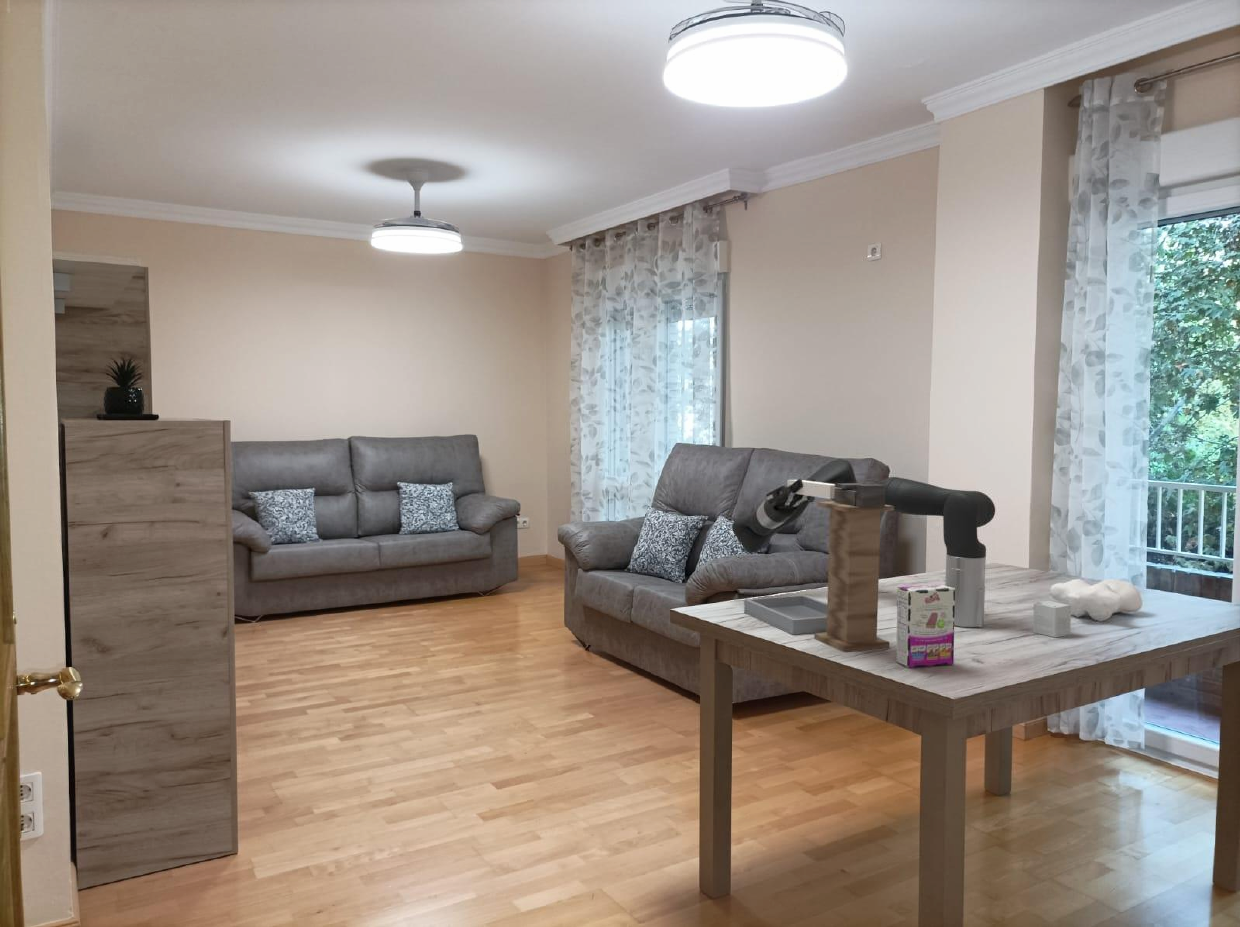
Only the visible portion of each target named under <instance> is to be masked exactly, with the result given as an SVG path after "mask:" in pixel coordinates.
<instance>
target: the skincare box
mask: <svg viewBox="0 0 1240 927" xmlns="http://www.w3.org/2000/svg"><path fill="white" fill-rule="evenodd" d="M1071 621H1072V612H1071V605H1067V604H1062V603H1060V602H1059V601H1058V602H1056V601H1053V600H1044V601H1039V602H1034V603H1033V624H1032V625H1033V630H1032V631H1033V633H1035V634H1039V635H1044V636H1048V637H1051V638H1061V637H1066V636H1070V635H1071V626H1072V625H1071V623H1072V622H1071Z"/></svg>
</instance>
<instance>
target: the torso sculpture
mask: <svg viewBox="0 0 1240 927" xmlns="http://www.w3.org/2000/svg"><path fill="white" fill-rule="evenodd" d="M1049 594H1050V596H1051V598H1052V599H1054V600H1056V601H1058V603H1062V604H1067V605H1071V614H1072V615H1073V616H1074V617H1076V618H1081V617H1083V616H1084V615H1087V614H1088V615H1089V616H1090V617H1091V618H1092V619H1093V620H1094V621H1096V620H1104V621H1106V620H1108V619H1109V618H1111V617H1112V615H1113V614H1116V613H1123V612H1124V613H1134V612H1137V611H1140V610H1141V609H1142V607H1143V599H1142V595H1141V593H1140V591H1139V590H1138V589H1137V587H1136V586H1135V585H1133V584H1132V583H1131V582H1128V581H1123V580H1119V579H1117V580H1116V579H1112V578H1111V579H1110V578H1107V579H1104V580H1101V581H1100V582H1098V583H1094V584H1092V585H1091V584H1089V583H1087V582H1086V581H1084V580H1082V579H1079V578H1076V579H1072V580H1069V581H1067V582H1056V583H1055V584H1052V585H1051V586H1050V590H1049Z"/></svg>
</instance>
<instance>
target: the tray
mask: <svg viewBox="0 0 1240 927" xmlns="http://www.w3.org/2000/svg"><path fill="white" fill-rule="evenodd" d="M743 603H744V604H743V605H744V606H743V608H744V609H743V613H744V614H747V615H749V616H751V617H753V618H756V619H758V620H760V621H762V622H763V623H767V624H769V625H771V626H773V627H775V628H777V629H779V630H782V631H784V632H786V633H788V634H790V635H793V636H797V635H805V634H806V635H807V634H814V633H824V632H827V602H824V601H822V600H818V599H815V598H814V597H811V596H807V595H805V594H799V595H798V594H797V595H784V596H771V597H770V596H769V597H758V598H757V597H756V598H745V599H744V602H743Z"/></svg>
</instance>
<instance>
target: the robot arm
mask: <svg viewBox="0 0 1240 927" xmlns="http://www.w3.org/2000/svg"><path fill="white" fill-rule="evenodd" d="M796 480H797V481H796V482H794V483H793V484H792V485H788V484H787V486H786V485H782V486H780V487H777V488H776V489H774V490H772V491H769V492H768V493H766V494H765V495H766V496H765V497H766V499H765V500H764V501H763V502H762V503H761V504H760V505H759V507H758V508H757V509H755V511H753V512H751V513H749V514H744V515H741V516H739V517H737V518H736V519H735V520H734V521H733V522H732V525H731V530H732V532H733V534H734V535H735V537H736V538H737V540H738V541H739V543H740V545H741V547H742V548H743V549H744V550H745V552H747V553H750V554H753V553H757V552H759V551H760V550H761V549H762V548H763V547H765V545H766V544H767V543H768V541H769V540H771V538H772V537H773V536H774V535H775V534H777V532H780V530H782V529H784V528H785V527H787V526H789V525H790V524H792V523H793V522H795V521H796V520H797V519H798V518H799V517H800V516H802V514H803V513H804V512H805V510H806V508H807V507H808V505H809V504H810V503H813V502H814V501H815V498H816V497H814V496H807V495H801V494H795V493H796V492H798V491H799V490H800V489H801V488H802V487H803V483H802V480H803V479H802V478H798V479H796ZM806 481H814V482H822V483H829V484H837V483H858V481H857V477H856V475H855V471H854V468H853V466H852V464H851V462H850V461H849V460H847V459H844V458H843V459H842V458H840V459H834V460H831V461H829V462H828V463H826V464H824V465H823V466H821V467H820V468H819V469H818V470H816V471H815V472H814V473H812V475H810V476H809V477H808V478H807V479H806ZM876 484H880V485H886V496H885V505H890V506H894V511H893V512H896V513H898V514H899V513H900V514H905V515H913V516H929V517H930V516H932V517H933V516H936V517H943V518H942V519H943V524H942V525H943V526H942V527H943V543H944V545H945V548H946V558H945V579H944V580H945V583H944V585H946V586H949V587H952V588H955V615H954V627H962V628H983V627H984V622H985V620H984V619H985V602H986V601H985V596H986V585H985V584H986V561H987V559H986V558H987V547H986V545H985V544H984V543H983V542H980V540H979V538H978V528H981V527H984V526H986V525H987V524H988V523H990V522H991V521H992V520H993V519H994V516H995V514H996V507H995V503H994V502H993V500H992V498H990V497H989V496H988V495H987V494H985V493H983V492H981V491H978V490H960V489H952V488H945V487H944V488H943V487H940V486H937V485H932V484H931V483H930V484H929V483H926V482H921V481H917V480H913V479H908V478H903V477H898V476H891V477H887V478H884V479H882V480H879V481H878V482H877V483H876ZM842 489H844V488H842ZM845 490H851V491H853V488H851V489H845ZM830 500H831V501H834V499H830Z"/></svg>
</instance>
